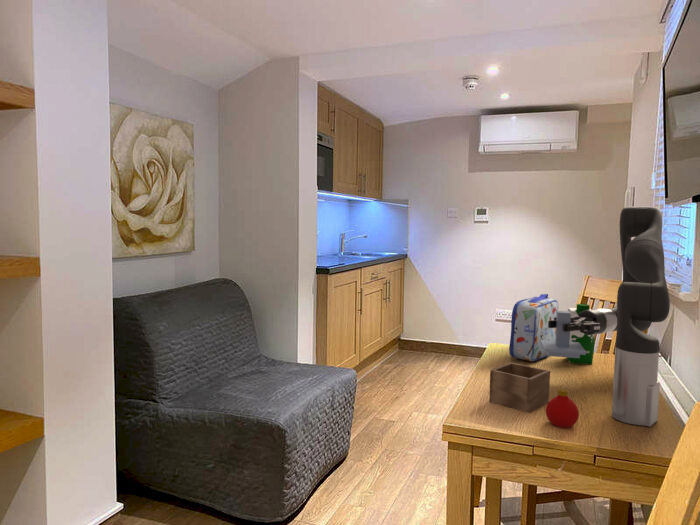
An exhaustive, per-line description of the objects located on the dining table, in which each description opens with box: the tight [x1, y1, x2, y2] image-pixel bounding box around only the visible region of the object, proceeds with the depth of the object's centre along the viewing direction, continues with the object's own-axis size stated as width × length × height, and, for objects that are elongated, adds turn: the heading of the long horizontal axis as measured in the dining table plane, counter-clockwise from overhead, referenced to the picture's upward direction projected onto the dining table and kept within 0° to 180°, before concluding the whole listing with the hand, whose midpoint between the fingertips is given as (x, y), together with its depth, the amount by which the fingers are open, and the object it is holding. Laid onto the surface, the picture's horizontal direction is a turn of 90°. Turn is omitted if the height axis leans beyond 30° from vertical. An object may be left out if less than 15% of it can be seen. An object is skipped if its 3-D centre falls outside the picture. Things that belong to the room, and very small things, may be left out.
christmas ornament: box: [545, 384, 580, 429], centre depth 121 cm, size 7×7×10 cm
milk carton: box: [565, 303, 596, 365], centre depth 179 cm, size 9×9×20 cm
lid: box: [540, 310, 586, 358], centre depth 153 cm, size 11×11×12 cm
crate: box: [488, 362, 551, 414], centre depth 135 cm, size 11×11×9 cm
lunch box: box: [508, 293, 559, 362], centre depth 185 cm, size 28×10×22 cm, turn 143°
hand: (556, 326), depth 152 cm, fingers closed on lid, 4 cm apart
